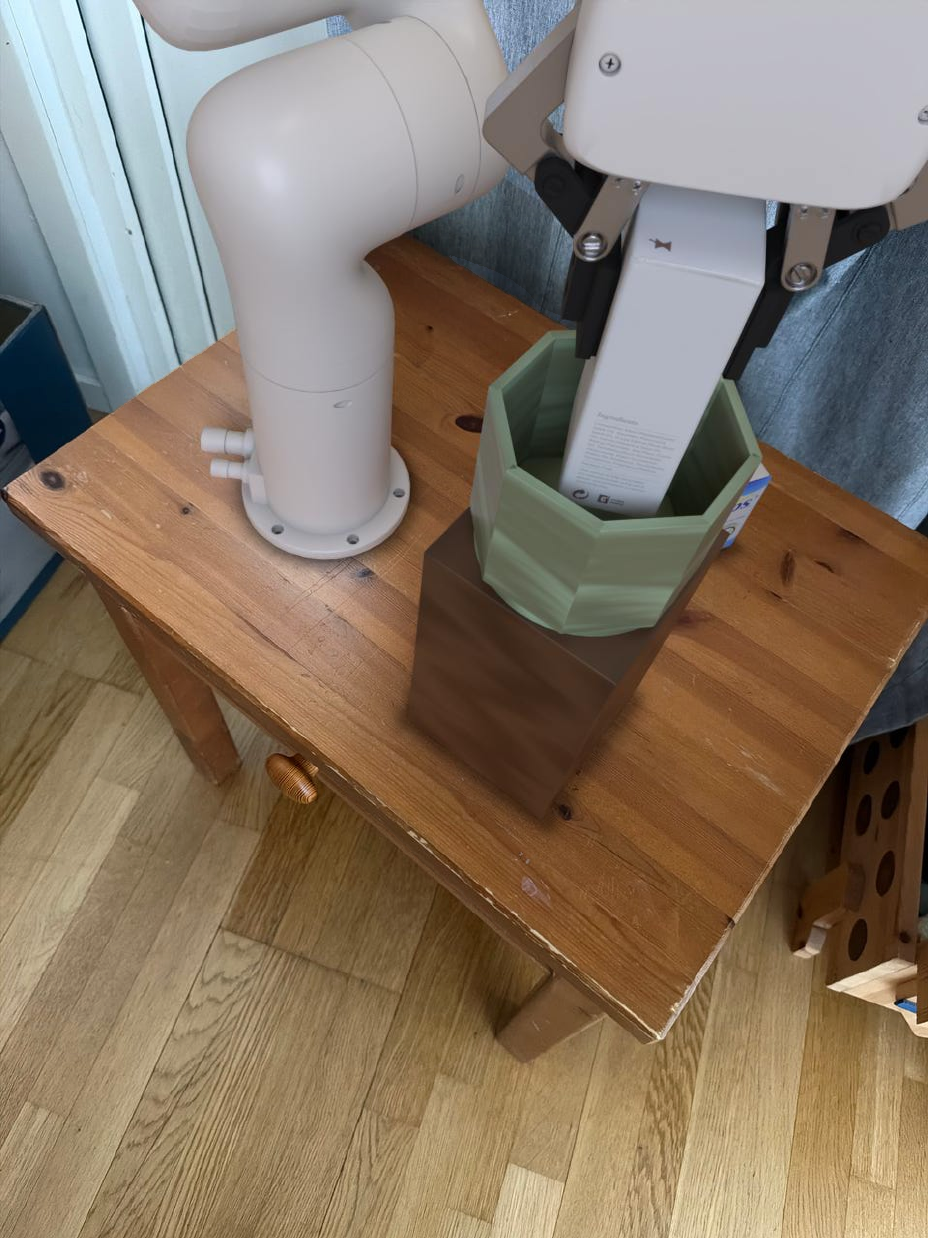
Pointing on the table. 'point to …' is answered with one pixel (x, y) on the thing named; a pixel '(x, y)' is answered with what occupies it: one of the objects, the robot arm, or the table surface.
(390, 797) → the table surface
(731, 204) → the cosmetic box
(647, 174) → the robot arm
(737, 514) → the medicine box
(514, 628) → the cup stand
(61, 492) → the table surface
